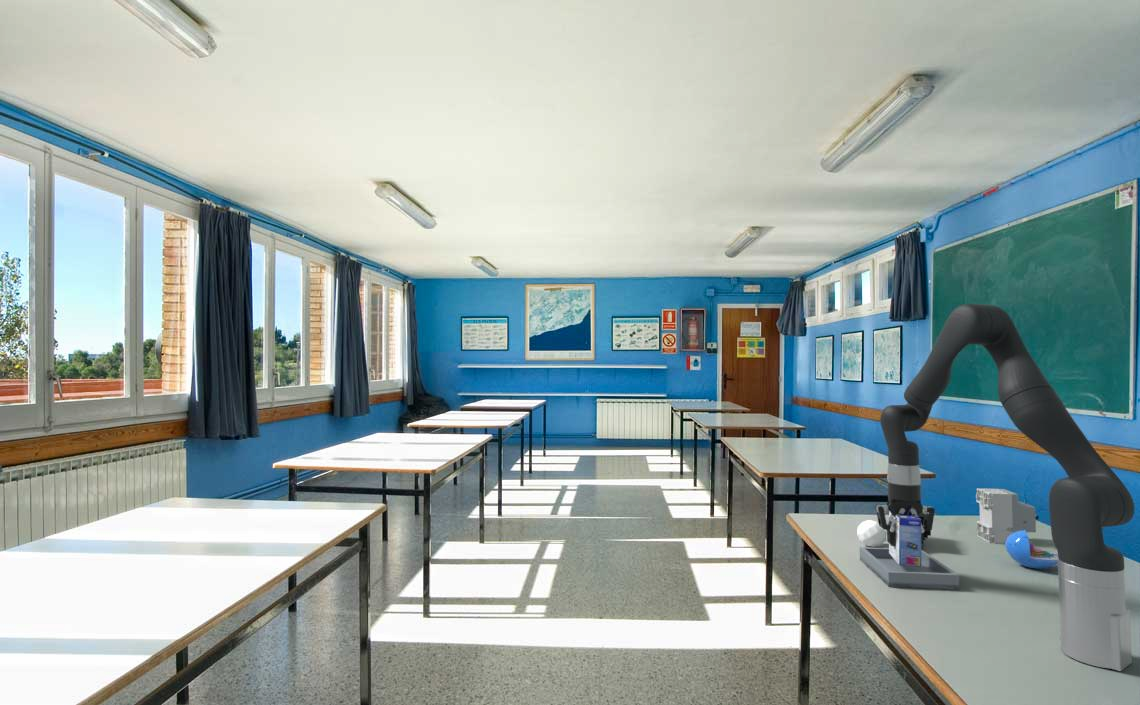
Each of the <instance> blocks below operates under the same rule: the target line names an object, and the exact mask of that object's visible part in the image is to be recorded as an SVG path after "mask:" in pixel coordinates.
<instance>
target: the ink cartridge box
mask: <svg viewBox="0 0 1140 705" xmlns="http://www.w3.org/2000/svg"><path fill="white" fill-rule="evenodd" d="M912 508H913V506H911V508H910V509H909V511H908V513H907V515H905V514H904V515H897V514H896V515H895V517H896V529H895V531H894V532H895V538H896V546H891V545H890V543H888V548H889V554H890V555H891V556H892V557H893V558H894V559H895V561H896V562H897V563H898V564H899V565H908V566H916V567H921V519H920V518H919V517H917V516H912V515H908V514H909V513H910V510H911V509H912ZM888 513H889V515H888V516H889V517H890V515H891V512H890V511H889V510H888ZM889 517H888V518H889ZM895 517H894V516H893V518H894V519H895Z"/></svg>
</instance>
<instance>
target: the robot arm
mask: <svg viewBox="0 0 1140 705" xmlns="http://www.w3.org/2000/svg"><path fill="white" fill-rule="evenodd" d="M968 345H978V346H983V347H984V349H986V351H987V352H988V354H989V355H990V357H991V358H992V360H993V361H994V363H995V366H996V367H997V374H998V375H997V396H998V399H999V402H1000V404H1001V405H1002V407H1003V409H1004V411H1005V412H1006V414H1007V415H1008V417H1009V419H1010V420H1011V422H1012V423H1013V425H1014V426H1015V427H1016V428H1017V429H1018V430H1019V431H1020V432H1021V434H1023V435H1024V436H1025V437H1027V438H1028V439H1029V440H1031V441H1032V442H1033V443H1035V444H1036V445H1038V446H1039V447H1040V448H1042V450H1044V451H1045V452H1046V453H1048V454H1049V455H1050V456H1051V457H1052V458H1053V459H1054V460H1056V461H1057V463H1058V464H1059V465H1060V466H1061V467H1062V469H1063V470H1064V471H1065V473H1066V476H1068V477H1063V478H1060V479H1058V480H1056V481H1054V483H1053V484H1052V485H1051V488H1050V490H1049V493H1048V494H1049V495H1048V511H1049V519H1050V520H1049V521H1050V529H1051V532H1050V533H1051V537H1052V538H1051V539H1052V542H1053V544H1054V546H1055V549H1056V550H1057V554H1058V564H1057V570H1058V571H1057V574H1058V602H1059V603H1058V604H1059V605H1058V607H1059V633H1060V634H1059V635H1060V636H1059V640H1060V651H1061V652H1062V653H1063V654H1065V655H1066V656H1068V657H1069V658H1072V659H1073V660H1075V661H1078V662H1081V663H1084V664H1087V665H1089V666H1093V667H1098V668H1105V669H1112V670H1115V671H1118V672H1122V671H1124V670H1125V669H1126V668H1127V667H1128V666H1130V665H1131V664H1132V663H1133V660H1132V658H1133V657H1132V655H1133V654H1132V631H1131V630H1132V629H1131V610H1130V609H1128V608H1126V606H1127V605H1126V604H1127V603H1126V583H1125V582H1126V581H1125V580H1126V579H1125V557H1124V554H1123V552H1121V551H1120V550H1118V549H1116V548H1114V547H1112V546H1109V545H1107V544H1106V543H1105V539H1104V533H1103V528H1107V527H1118V526H1123V525H1126V524H1128V523H1129V522H1130V521H1131V520H1132V519H1133V517H1134V514H1135V510H1136V509H1135V503H1134V500H1133V496H1132V495H1131V493H1130V491H1129V490H1128V488H1127V487H1126V486H1125V483H1124V482H1122V480H1121V479H1120V477H1119V476H1118V475H1117V474H1116V473H1115V472H1114V471H1113V470H1112V468H1111V467H1110V466H1109V465H1108V464H1107V462H1106V461H1105V460H1104V459H1103V457H1102V456H1100V454H1099V452H1098V451H1097V450H1096V449H1095V447H1094V446H1093V445H1092V444H1091V442H1090V441H1089V439H1088V438H1087V437H1086V435H1085V434H1084V432H1083V431H1082V430H1081V427H1079V425H1078V423H1077V422H1076V421H1075V420H1074V418H1073V417H1072V415H1071V414H1070V412H1069V411H1068V410H1067V407H1066V406H1065V405H1064V402H1063V401H1062V400H1061V398H1060V396H1059V395H1058V394H1057V391H1055V389H1054V388H1053V386H1052V385H1051V383H1050V382H1049V380H1048V379H1047V378H1046V377H1045V375H1044V374H1043V373H1042V370H1041V369H1040V368H1039V366H1038V364H1037V363H1036V362H1035V359H1034V358H1033V357H1032V355H1031V354H1030V352H1029V351H1028V349H1027V347H1026V345H1025V344H1024V342H1023V339H1022V337H1021V335H1020V333H1019V331H1018V330H1017V327H1016V326H1015V323H1014V321H1013V320H1012V318H1011V316H1010V315H1009V314H1008V313H1007V311H1006V310H1005V309H1003V308H1002V307H999V306H996V305H993V304H981V303H964V304H960V305H959V306H957V307H956V308H954V309H953V310H952V311H951V313H950V314H949V316H948V318H947V319H946V321H945V323H944V325H943V327H942V329H941V330H940V333H939V335H938V337H937V339H936V341H935V342H934V345H933V347H932V348H931V350H930V352H929V355H928V356H927V359H926V360H925V362H924V364H923V365H922V367H921V368H920V370H919V371H918V373H917V374H916V376H914V377H913V379H912V380H911V382H910V383H909V385H908V386H907V387H906V388H905V391H904V393H903V397H904V400H905V401H906V404H891V405H887V406H885V407H884V408H883V409H882V411H881V413H880V418H879V423H880V426H881V431H882V433H883V436H884V440H885V443H886V446H887V457H888V458H887V462H888V464H887V471H886V472H887V476H886V479H887V498H888V499H887V502H886V504H882V505H880V504H875V506H874V507H875V513H876V516H877V522H878V523H879V526H880V527H881V528H883V529H885V531H886V541H887V543H888V544H889V543H890V545H891V546H896V538H895V532H894V531H895V529H896V517H895V515H896V514H897V515H904V514H905V515H907V513H908V511H909V509H910V508H911V506H913V508H912V509H911V510H910V513H909V514H908V515H912V516H917V517H918V515H919V514H920V512H921V511H922V510H923V513H924V520H923V525H922V523H921V547H922V548H923V545H924V544H925V540H924V532H925V531H931V532H932V529H933V523H934V518H935V512H936V510H935V508H933V507H932V506H931V505H923V504H922V501H921V500H922V483H921V469H920V463H919V462H920V458H919V457H920V454H919V453H920V450H919V449H920V448H919V446H918V444H917V443H916V442H914V441H911V440H908V439H907V437H906V433H905V432H916V431H918V430H920V429H921V428H922V427H924V426H925V425H926V423H927V421H928V419H929V416H930V414H931V411H932V408H933V406H934V404H935V403H936V402H937V401H938V400H939V398H940V397H942V394H943V393H945V391H946V389H947V388H948V386H949V384H950V382H951V377H952V368H953V363H954V361H955V359H956V358H957V356H958V355H959V353H960V352H962V350H964V348H966V347H967V346H968ZM887 511H888V512H889V511H890V512H891V515H890V517H888V522H887V519H886V513H887ZM893 516H894V517H895V519H894V518H893Z"/></svg>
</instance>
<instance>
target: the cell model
mask: <svg viewBox="0 0 1140 705" xmlns="http://www.w3.org/2000/svg"><path fill="white" fill-rule="evenodd" d="M1004 545H1005V546H1004V547H1005V549H1006V552H1007V554H1008V555H1009V556H1010V558H1011V559H1013V561H1015V563H1016V562H1017V563H1018V564H1019V565H1021V566H1024V567H1027V568H1029V569H1036V570H1037V569H1039V570H1042V569H1048V568H1052V567H1054V566H1056V565H1058V553H1056V552H1053V551H1049V550H1043V549H1042V548H1037V547H1035V545H1034V541H1031V540H1030V539H1029V536H1028V532H1026V531H1025V530H1021V531H1017V532H1014V533H1012V534H1011V535H1009V537H1008V538H1007V539H1006V542H1005V544H1004Z"/></svg>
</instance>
